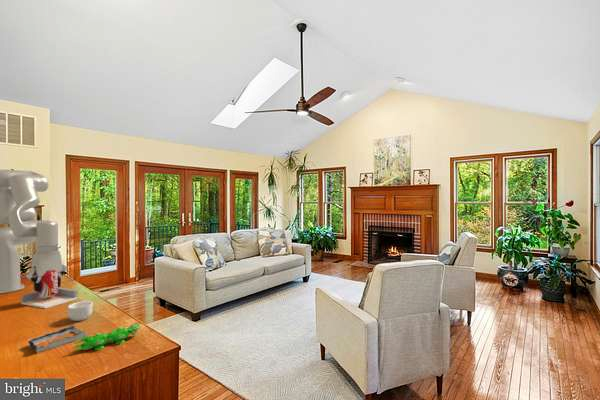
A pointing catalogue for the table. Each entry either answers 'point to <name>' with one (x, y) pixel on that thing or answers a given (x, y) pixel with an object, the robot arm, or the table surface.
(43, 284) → the soda can
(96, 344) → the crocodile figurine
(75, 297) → the open box
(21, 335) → the table surface
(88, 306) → the teacup
